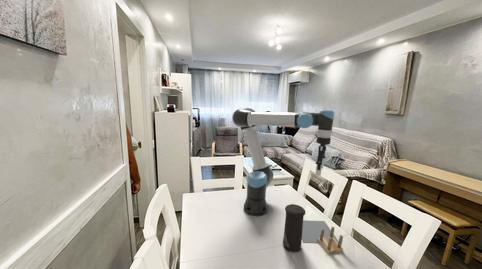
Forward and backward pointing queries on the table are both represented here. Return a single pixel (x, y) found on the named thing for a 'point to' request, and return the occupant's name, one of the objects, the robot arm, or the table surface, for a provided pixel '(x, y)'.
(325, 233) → the mat
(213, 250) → the table surface
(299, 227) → the container
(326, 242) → the stool
